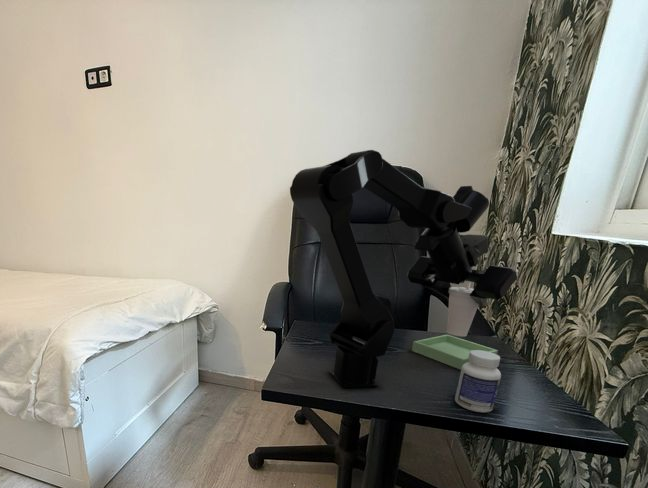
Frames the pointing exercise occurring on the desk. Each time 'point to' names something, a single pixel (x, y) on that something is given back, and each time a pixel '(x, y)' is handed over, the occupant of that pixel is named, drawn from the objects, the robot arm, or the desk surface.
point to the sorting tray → (448, 349)
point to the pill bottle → (479, 382)
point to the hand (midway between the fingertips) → (467, 301)
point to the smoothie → (460, 310)
